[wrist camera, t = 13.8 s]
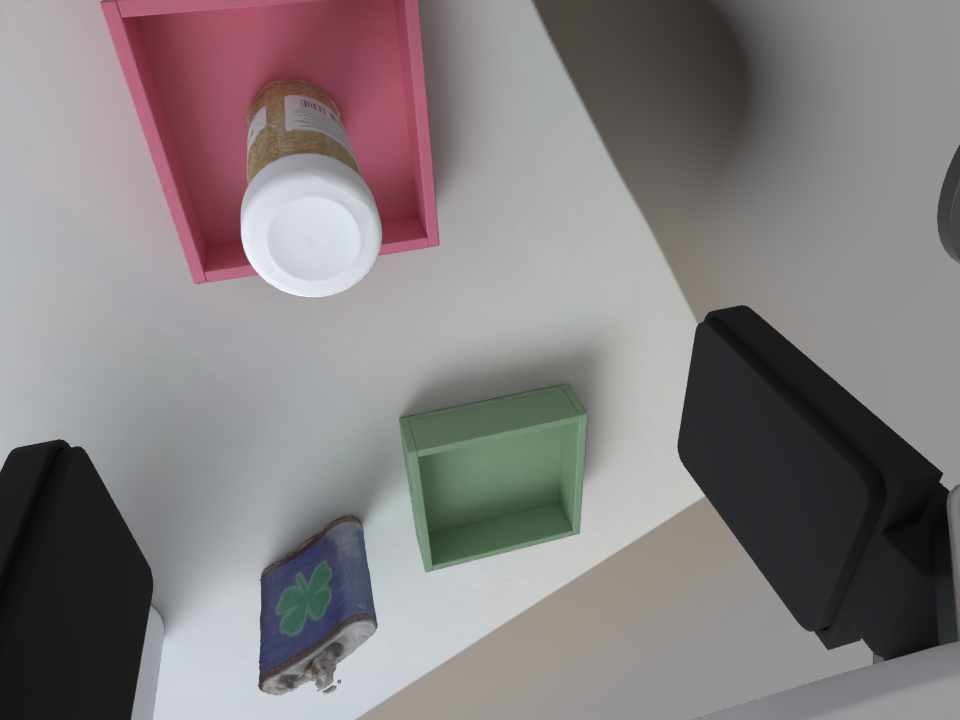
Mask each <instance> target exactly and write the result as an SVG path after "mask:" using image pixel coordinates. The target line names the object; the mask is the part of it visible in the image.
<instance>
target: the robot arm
mask: <svg viewBox="0 0 960 720" xmlns="http://www.w3.org/2000/svg"><path fill="white" fill-rule="evenodd" d="M678 453H679V457H680V459H681V461H682V463H683V465H684V466H685V468H686V469H687V471H688V472H689V473H690V475H691V476H692V477H693V479H694V480H695V482H696V483H697V484H698V486H699V487H700V488H701V490H702V491H703V493H704V494H705V495H706V497H707V498H708V499H709V501H710V502H711V504H712V505H713V506H714V508H715V509H716V510H717V512H718V513H719V515H720V516H721V517H722V519H723V520H724V521H725V523H726V524H727V526H728V527H729V528H730V530H731V531H732V532H733V534H734V535H735V536H736V538H737V539H738V541H739V542H740V543H741V545H742V546H743V547H744V549H745V550H746V552H747V553H748V554H749V556H750V557H751V558H752V560H753V561H754V563H755V564H756V566H757V567H758V568H759V570H760V571H761V572H762V574H763V575H764V576H765V578H766V579H767V581H768V582H769V583H770V585H771V586H772V587H773V589H774V590H775V592H776V593H777V594H778V595H779V597H780V598H781V600H782V601H783V603H784V604H785V605H786V607H787V608H788V610H789V611H790V612H791V614H792V615H793V616H794V618H795V619H796V621H797V622H798V623H799V624H800V625H801V626H802V627H803V628H804V629H806V630H807V631H814V632H815V633H816V635H817V636H818V637H819V638H820V640H821V641H822V643H823V644H824V645H825V647H826V648H827V649H828V650H830V649H834V648H837V647H840V646H843V645H847V644H850V643H853V642H856V641H860V640H861V638H862V639H863V640H864V642H865V643H866V644H867V645H868V647H869V648H870V649H871V650H872V651H873V665H870V666H866V667H863V668H860V669H856V670H852V671H849V672H845V673H842V674H838V675H835V676H832V677H829V678H826V679H822V680H819V681H815V682H812V683H809V684H806V685H802V686H799V687H796V688H793V689H789V690H786V691H783V692H779V693H776V694H773V695H770V696H767V697H763V698H760V699H757V700H753V701H750V702H747V703H744V704H741V705H737V706H734V707H730V708H727V709H724V710H721V711H717V712H715V713H711V714H708V715H704V716H701V717H698V718H694V719H691V720H960V484H959V485H956V486H955V487H954V488H953V489H952V490H951V492H950V491H949V490H948V489H947V488H945V487H944V486H943V485H942V484H941V483H940V482H939V481H940V479H941V477H942V475H943V473H942V472H941V471H940V470H939V469H938V468H936V467H935V466H934V465H933V464H932V463H930V462H929V461H928V460H927V459H926V458H924V456H922V455H921V454H920V453H919V452H918V451H916V450H915V449H914V448H913V447H912V446H911V445H909V444H908V443H907V442H906V441H905V440H904V439H903V438H901V437H900V436H899V435H898V434H897V433H895V432H894V431H893V430H892V429H891V428H890V427H888V426H887V425H886V424H885V423H884V422H883V421H882V420H880V419H879V418H878V417H877V416H876V415H874V414H873V413H872V412H871V411H870V410H869V409H868V408H866V407H865V406H864V405H863V404H862V403H860V402H859V401H858V400H857V399H856V398H855V397H854V396H852V395H851V394H850V393H849V392H848V391H846V390H845V389H844V388H843V387H842V386H841V385H840V384H838V383H837V382H836V381H835V380H834V379H832V378H831V377H830V376H829V375H828V374H827V373H825V372H824V371H823V370H822V369H821V368H820V367H818V366H817V365H816V364H815V363H814V362H813V361H811V360H810V359H809V358H808V357H807V356H806V355H804V354H803V353H802V352H801V351H800V350H799V349H797V348H796V347H795V346H794V345H793V344H792V343H790V342H789V341H788V340H787V339H786V338H784V337H783V336H782V335H781V334H780V333H779V332H778V331H776V330H775V329H774V328H773V327H772V326H770V325H769V324H768V323H767V322H766V321H765V320H764V319H762V318H761V317H760V316H759V315H758V314H757V313H755V312H754V311H753V310H752V309H751V308H749V307H747V306H743V305H741V306H736V307H730V308H725V309H720V310H715V311H711V312H709V313H708V314H707V316H706V317H705V320H704V322H701V323H699V324H698V326H697V328H696V332H695V338H694V344H693V351H692V357H691V363H690V369H689V376H688V382H687V388H686V394H685V400H684V407H683V413H682V419H681V425H680V431H679V438H678ZM152 594H153V578H152V573H151V569H150V567H149V564H148V563H147V561H146V559H145V557H144V555H143V554H142V552H141V550H140V548H139V546H138V545H137V543H136V541H135V539H134V537H133V536H132V534H131V532H130V530H129V528H128V527H127V525H126V523H125V521H124V519H123V518H122V516H121V514H120V512H119V510H118V509H117V507H116V505H115V503H114V501H113V500H112V498H111V496H110V494H109V492H108V490H107V489H106V487H105V485H104V483H103V481H102V480H101V478H100V476H99V474H98V472H97V471H96V469H95V467H94V465H93V463H92V462H91V460H90V458H89V456H88V454H87V453H86V451H85V450H84V449H83V448H82V447H78V446H77V447H72V448H71V447H70V445H69V444H68V443H67V442H66V441H64V440H60V439H58V440H53V441H48V442H43V443H38V444H33V445H28V446H23V447H18V448H15V449H13V450H12V451H11V452H10V454H9V455H8V457H7V459H6V461H5V463H4V466H3V468H2V470H1V472H0V720H131V717H132V711H133V705H134V699H135V693H136V687H137V682H138V676H139V670H140V664H141V658H142V652H143V646H144V640H145V635H146V629H147V623H148V617H149V611H150V605H151V599H152Z"/></svg>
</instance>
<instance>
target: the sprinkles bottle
mask: <svg viewBox="0 0 960 720" xmlns="http://www.w3.org/2000/svg"><path fill="white" fill-rule="evenodd" d="M247 132H248V141H247V180H248V188H247V190H246V191H245V194H244V197H243V201H242V206H241V239H242V244H243V248H244V251H245V254H246V256H247V258H248V260H249V262H250V263H251V265H252V266H253V268H254V269H255V270H256V272H257V273H258V274H259V275H260V276H261V277H262V278H263V279H265V280H266V281H267V282H268V283H270V284H271V285H273V286H274V287H276V288H278V289H280V290H282V291H285V292H287V293H290V294H293V295H298V296H304V297H323V296H329V295H333V294H336V293H339V292H342V291H344V290H346V289H348V288H350V287H352V286H353V285H355V284H356V283H358V282H359V281H360V280H361V279H362V278H363V277H364V276H365V275H366V274H367V273H368V272H369V271H370V269H371V268H372V266H373V265H374V263H375V261H376V259H377V257H378V254H379V252H380V247H381V242H382V226H381V220H380V216H379V213H378V209H377V206H376V203H375V200H374V198H373V195H372V193H371V191H370V189H369V187H368V186H367V184H366V183H365V181H364V180H363V179H362V176H361V172H360V169H359V166H358V163H357V160H356V158H355V155H354V152H353V149H352V147H351V144H350V142H349V139H348V137H347V134H346V131H345V129H344V127H343V121H342V117H341V114H340V112H339V109H338V107H337V105H336V104H335V103H334V102H333V100H332V98H331V97H330V96H329V95H328V94H327V93H326V92H325V91H324V90H323V89H321V88H320V87H319V86H317V85H314V84H312V83H311V82H308V81H305V80H300V79H291V78H287V79H283V80H277V81H273V82H270V83H269V84H267V85H266V86H265V87H263V88H262V89H261V90H260V91H259V92H258V93H257V94H256V96H255V98H254V99H253V100H252V102H251V104H250V106H249V109H248V113H247Z"/></svg>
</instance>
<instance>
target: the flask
mask: <svg viewBox="0 0 960 720" xmlns="http://www.w3.org/2000/svg"><path fill="white" fill-rule="evenodd" d="M260 581H261V615H260V630H261V639H260V643H261V646H260V660H259V663H260V665H259V669H260V676H259V684H258V686H259V689H260V690H261V691H263V692H266V693H268V694H273V695H282V694H284V693H286V692H288V691H290V692H291V691H293V690H295V689H296V688H298V686H300V685H301V684H303V683H305V682H308V681H309V680H311V681H314V682H315V681H316V682H317V683H316V684H315V685H316V686H317V688H318V690H317V691H320V690H322V689H324V688H325V687H326V686H328V685H330V684H331V683H332V682H333V672H334V671H335V669H336V668H335V667H336V666H337V665H336V664H337V663H339V662H340V661H341V660H343V659H344V658H345V657H346V656H348V655H349V654H351V653H352V652H353V651H354V650H355V649H357V648H358V647H359V646H360V645H361V644H363V643H364V642H365V641H366V640H367V639H368V638H369V637H370V636H372V635H373V634H374V632H375V631H376V629H377V625H378V623H377V620H376V613H375V608H374V603H373V595H372V588H371V581H370V573H369V569H368V564H367V558H366V550H365V542H364V532H363V527H362V525H361V523H360V521H359V520H357V519H355V518H353V517H351V516H347V517H346V518H343V519H341V520H336V521H334V522H332V523H331V524H329V525H327V526H326V530H324V531H322V532H321V533H319V534H318V535H316V536H314V537H311V538H310V539H308V540H305V542H304V543H302V544H301V546H300V547H299V549H298V550H297V552H295V553H293V554H292V553H289V555H287V557H286V559H284V560H282V561H279V562H276V563H275V564H274V565H273V566H271V567H269V568H268V569H266V570H264V571H263V573H262V575H261V580H260ZM337 682H338V684H340V683H341V680H338V681H337ZM335 689H336V686H331V687H329V688H328V689H327V690H325V691H322V692H323V694H328V693H330V692H332V691H334V690H335Z"/></svg>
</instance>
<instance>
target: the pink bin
mask: <svg viewBox="0 0 960 720" xmlns="http://www.w3.org/2000/svg"><path fill="white" fill-rule="evenodd" d="M100 5H101V8H102V11H103V13H104V16H105V19H106V22H107V25H108V28H109V31H110V34H111V37H112V40H113V43H114V46H115V49H116V52H117V55H118V58H119V61H120V64H121V67H122V70H123V73H124V76H125V79H126V82H127V85H128V88H129V91H130V94H131V97H132V100H133V103H134V105H135V108H136V111H137V114H138V117H139V120H140V123H141V126H142V129H143V132H144V135H145V138H146V141H147V144H148V147H149V150H150V153H151V156H152V159H153V162H154V165H155V168H156V171H157V174H158V177H159V180H160V183H161V186H162V189H163V192H164V195H165V198H166V200H167V203H168V206H169V209H170V212H171V215H172V218H173V221H174V224H175V227H176V230H177V233H178V236H179V239H180V242H181V245H182V248H183V251H184V254H185V257H186V260H187V263H188V266H189V269H190V272H191V275H192V278H193V281H194V283H195V284H200V283H206V282H214V281H220V280H227V279H233V278H239V277H246V276H252V275H258V273H257V272H256V270H255V269H254V268H253V266H252V265H251V263H250V262H249V260H248V258H247V256H246V254H245V251H244V248H243V244H242V239H241V206H242V201H243V197H244V194H245V191H246V190H247V188H248V180H247V141H248V132H247V113H248V109H249V106H250V104H251V102H252V100H253V99H254V98H255V96H256V94H257V93H258V92H259V91H260V90H261V89H262V88H263V87H265V86H266V85H267V84H269V83H270V82H273V81H277V80H283V79H287V78H291V79H300V80H305V81H308V82H311V83H312V84H314V85H317V86H319V87H320V88H321V89H323V90H324V91H325V92H326V93H327V94H328V95H329V96H330V97H331V98H332V100H333V102H334V103H335V104H336V105H337V107H338V109H339V112H340V114H341V117H342V121H343V127H344V129H345V131H346V134H347V137H348V139H349V142H350V144H351V147H352V149H353V152H354V155H355V158H356V160H357V163H358V166H359V169H360V172H361V176H362V179H363V180H364V181H365V183H366V184H367V186H368V187H369V189H370V191H371V193H372V195H373V198H374V200H375V203H376V206H377V209H378V213H379V216H380V220H381V226H382V242H381V247H380V252H379V254H378V255H384V254H391V253H397V252H403V251H410V250H416V249H422V248H428V246H429V247H434V246H439V232H438V221H437V209H436V198H435V186H434V175H433V163H432V152H431V140H430V129H429V117H428V106H427V94H426V83H425V71H424V60H423V49H422V37H421V26H420V14H419V3H418V0H103V1H101V2H100Z"/></svg>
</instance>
